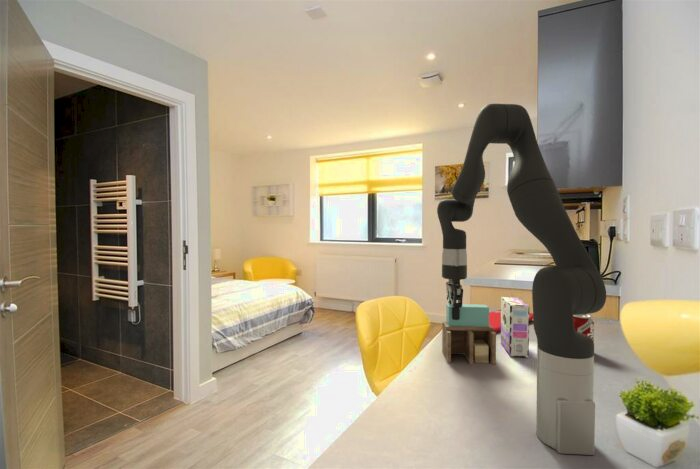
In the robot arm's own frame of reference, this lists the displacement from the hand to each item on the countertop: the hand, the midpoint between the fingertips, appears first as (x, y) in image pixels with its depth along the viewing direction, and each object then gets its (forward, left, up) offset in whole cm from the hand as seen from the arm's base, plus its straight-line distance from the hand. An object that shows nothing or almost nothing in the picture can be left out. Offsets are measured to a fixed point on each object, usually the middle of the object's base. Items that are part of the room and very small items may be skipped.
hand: (454, 317), depth 111 cm
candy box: (+7, -21, -12) cm, 25 cm away
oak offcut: (-1, -7, -12) cm, 14 cm away
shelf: (-1, -4, -12) cm, 13 cm away
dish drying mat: (+38, -23, -13) cm, 46 cm away
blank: (0, -4, -2) cm, 5 cm away
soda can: (+7, -42, -12) cm, 44 cm away
